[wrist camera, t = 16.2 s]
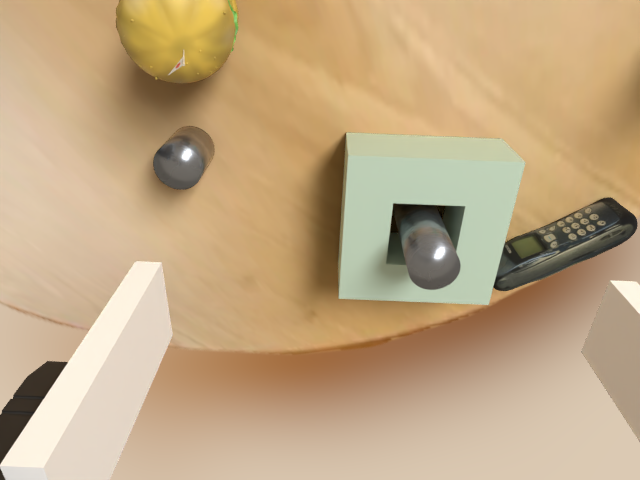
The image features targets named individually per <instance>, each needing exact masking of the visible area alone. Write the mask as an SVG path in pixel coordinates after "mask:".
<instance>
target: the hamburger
mask: <svg viewBox="0 0 640 480" xmlns="http://www.w3.org/2000/svg"><path fill="white" fill-rule="evenodd" d="M116 16H117V18H116V28H117V31H118V33H119V36H120V39H121V43H122V45H123V46H124V48H125V50H126V52H127V53H128V55H129V56H130V58H131V59H132V60H133V61H134V62H135V63H136V64H137V65H138V66H139V67H140V68H141V69H142V70H144V71H145V72H147V73H148V74H150V75H152V76H154V77H155V79H156V80H157V79H161V80H163V81H166V82H171V83H181V84H185V83H192V82H197V81H200V80H203V79H205V78H207V77H209V76H211V75H212V74H214V73H215V72H216V71H218V70H219V69H220V68H221V67H222V65H223V64H224V63H225V61H226V60H227V58H228V56H229V54H230V53H231V52H232V51H233V45H234V42H235V39H236V34H237V31H238V9H237V5H236V1H235V0H120V1H119V4H118V6H117V8H116Z"/></svg>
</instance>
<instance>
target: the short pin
mask: <svg viewBox="0 0 640 480" xmlns="http://www.w3.org/2000/svg"><path fill="white" fill-rule="evenodd" d="M213 156H214V144H213V141H212V139H211V138H210V136H209V135H208V134H207V133H206V132H205V131H203V130H202V129H200V128H197V127H193V126H186V127H182V128H180V129H179V130H177V131H176V132H175V133H174V134H173V135H172V136H171V137H170V138H169V140H168V141H167V142H166V143H165V144H164V145H163V146H162V147H161V148H160V149H159V150H158V151H157V153H156V154H155V157H154V160H153V166H154V170H155V173H156V175H157V176H158V178H159V179H160V180H161V181H162V182H163V183H164V184H165V185H167V186H169V187H171V188H174V189H180V190H181V189H188V188H191V187H193V186H194V185H195V184H196V183H197V182H198V181H199V179H200V178H201V176H202V175H203V173H204V171H205V170H206V168H207V167H208V165H209V163H210V162H211V160H212V159H213Z"/></svg>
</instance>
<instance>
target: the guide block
mask: <svg viewBox="0 0 640 480" xmlns="http://www.w3.org/2000/svg"><path fill="white" fill-rule="evenodd" d="M524 166H525V161H524V160H523V159H522V158H521V157H520V156H519V155H518V154H517V153H516V152H515V151H514V150H513V149H512V148H511V147H510V146H509V145H508V144H507V143H506V142H505V141H504V140H503V139H494V138H469V137H444V136H419V135H394V134H369V133H346V144H345V160H344V176H343V192H342V208H341V224H340V240H339V256H338V289H339V299H358V300H383V301H408V302H433V303H457V304H482V305H489V301H490V298H491V294H492V290H493V286H494V282H495V278H496V274H497V271H498V267H499V263H500V259H501V255H502V251H503V247H504V244H505V240H506V236H507V232H508V228H509V224H510V220H511V217H512V213H513V209H514V205H515V201H516V197H517V193H518V189H519V186H520V182H521V178H522V174H523V170H524ZM393 203H397V204H422V205H445V209H444V215H443V220H442V221H443V223H444V225H445V227H446V230H447V232H448V234H449V237H450V239H451V241H452V244H453V246H454V248H455V250H456V253H457V255H458V257H459V260H460V264H461V268H460V272H459V275H458V276H457V278H456V279H455V280H454V281H453V282H452V283H451V284H450V285H448V286H446V287H444V288H441V289H436V290H427V289H423V288H420V287H418V286H417V285H415V284H414V283H413V282H412V280H411V279H410V277H409V273H408V269H407V265H406V261H405V257H404V253H403V249H402V245H401V241H400V237H399V233H392V232H390V226H391V218H392V210H393Z"/></svg>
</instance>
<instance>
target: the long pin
mask: <svg viewBox="0 0 640 480" xmlns="http://www.w3.org/2000/svg"><path fill="white" fill-rule="evenodd" d="M393 213H394V217H395V221H396V225H397V229H398V233H399V237H400V241H401V245H402V249H403V253H404V257H405V261H406V265H407V269H408V273H409V277H410V279H411V280H412V282H413V283H414V284H415V285H417V286H418V287H420V288H423V289H427V290H436V289H441V288H444V287H446V286H448V285H450V284H451V283H452V282H453V281H454V280H455V279H456V278H457V276H458V275H459V272H460V268H461V264H460V260H459V257H458V255H457V253H456V250H455V248H454V246H453V244H452V241H451V239H450V237H449V234H448V232H447V230H446V227H445V225H444V223H443V221H442V218H441V216H440V214H439V211H438V209H437V207H436V205H422V204H397V203H393Z"/></svg>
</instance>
